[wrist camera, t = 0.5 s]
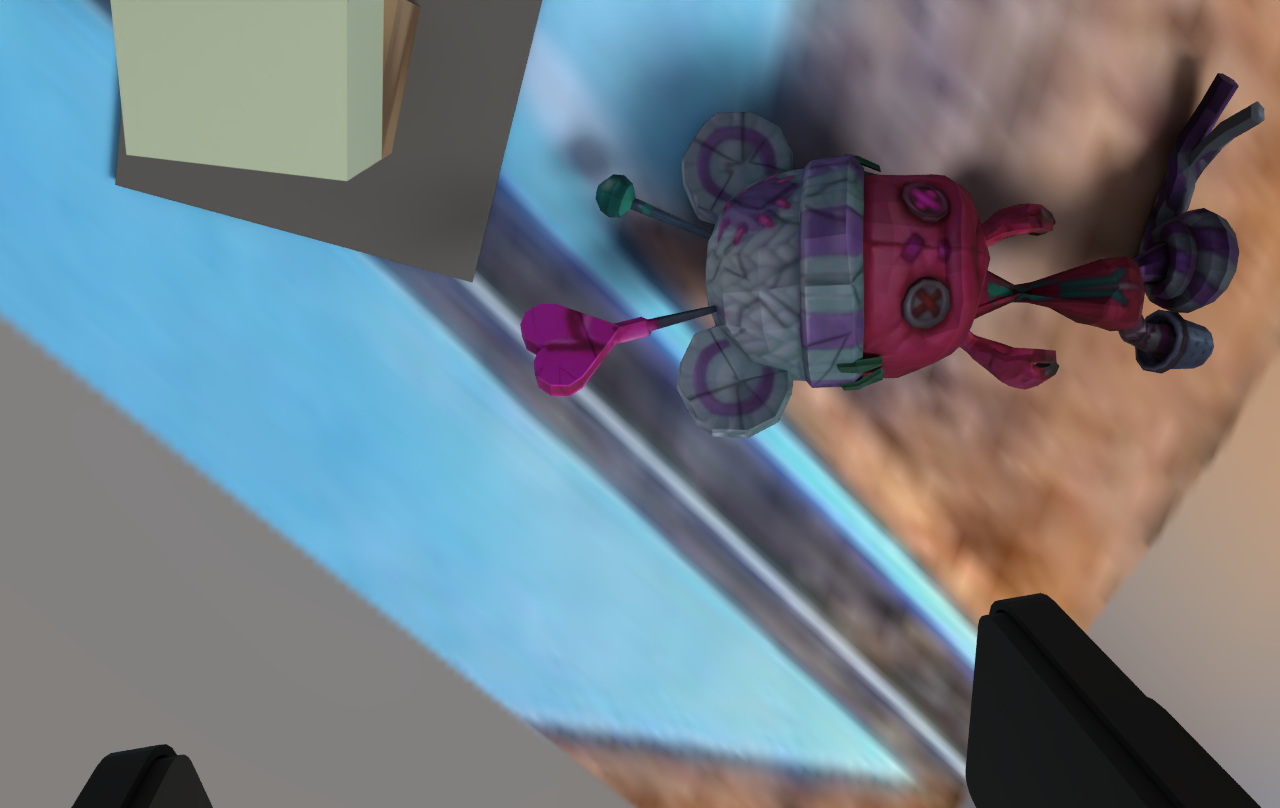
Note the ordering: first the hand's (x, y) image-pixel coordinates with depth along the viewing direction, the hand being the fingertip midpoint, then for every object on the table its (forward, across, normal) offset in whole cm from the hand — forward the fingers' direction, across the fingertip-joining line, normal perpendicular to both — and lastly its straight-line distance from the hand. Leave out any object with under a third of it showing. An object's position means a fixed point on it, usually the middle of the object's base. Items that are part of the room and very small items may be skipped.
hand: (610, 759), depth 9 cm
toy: (+28, -14, +1) cm, 31 cm away
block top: (+22, +7, -8) cm, 24 cm away
